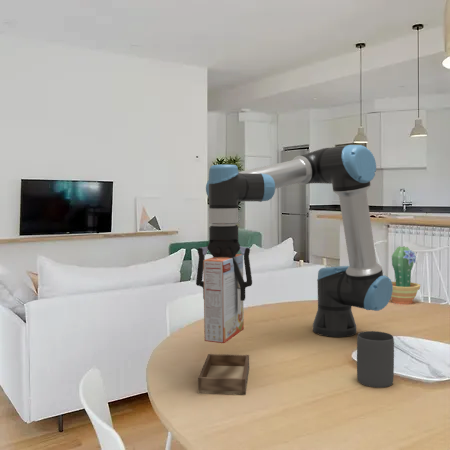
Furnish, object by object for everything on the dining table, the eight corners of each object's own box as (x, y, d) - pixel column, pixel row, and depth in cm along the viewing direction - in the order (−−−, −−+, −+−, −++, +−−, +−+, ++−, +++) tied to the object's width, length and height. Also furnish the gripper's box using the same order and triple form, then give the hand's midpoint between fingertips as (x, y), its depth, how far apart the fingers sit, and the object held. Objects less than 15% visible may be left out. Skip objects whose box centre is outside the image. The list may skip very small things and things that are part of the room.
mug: (395, 389, 123) (396, 341, 122) (357, 386, 125) (357, 339, 124) (389, 370, 136) (390, 327, 136) (355, 368, 138) (355, 325, 138)
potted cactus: (387, 305, 217) (387, 248, 215) (381, 298, 232) (382, 244, 230) (424, 306, 214) (425, 248, 213) (416, 298, 229) (417, 244, 228)
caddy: (249, 368, 139) (249, 354, 139) (245, 394, 121) (245, 379, 120) (208, 367, 140) (208, 354, 140) (198, 393, 122) (198, 378, 122)
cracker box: (224, 327, 137) (224, 252, 136) (244, 330, 135) (244, 253, 134) (202, 341, 124) (202, 258, 123) (224, 344, 122) (224, 259, 121)
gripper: (262, 223, 131) (263, 309, 132) (187, 224, 133) (189, 308, 134) (262, 225, 123) (262, 316, 125) (182, 225, 125) (184, 315, 127)
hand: (224, 312), depth 129 cm, fingers closed on cracker box, 7 cm apart
